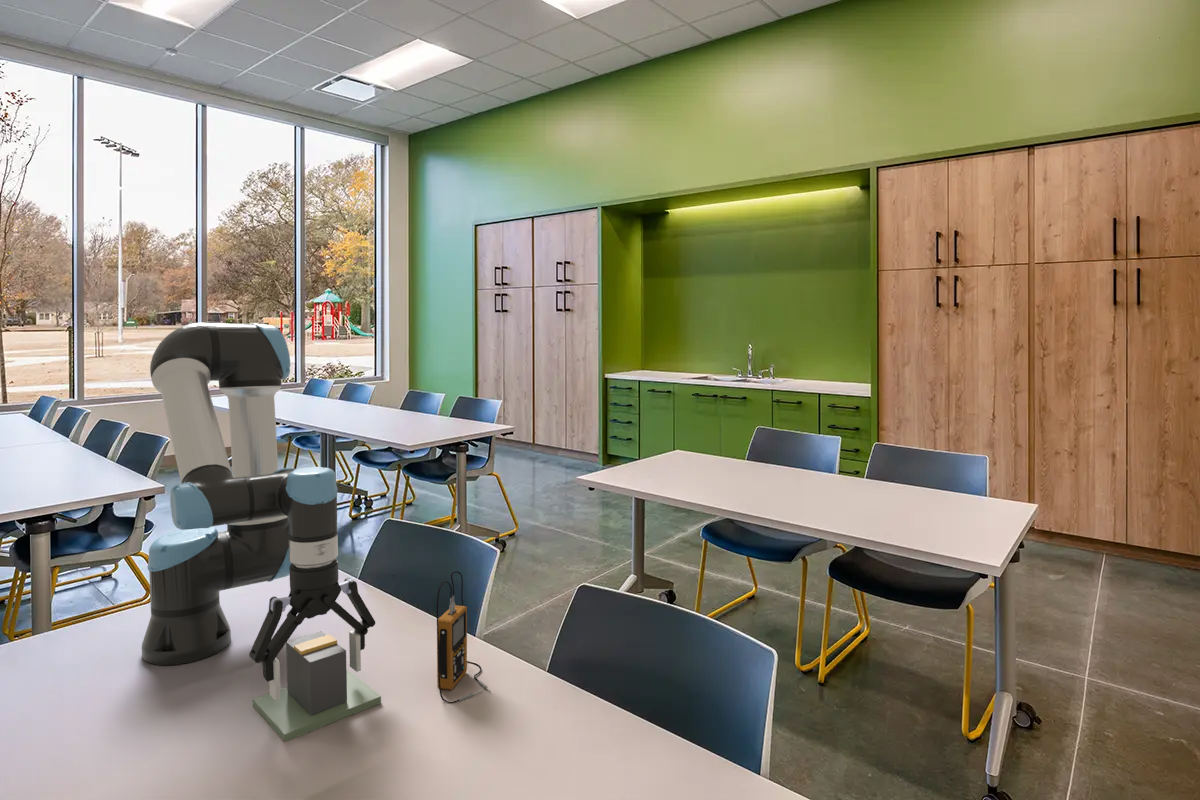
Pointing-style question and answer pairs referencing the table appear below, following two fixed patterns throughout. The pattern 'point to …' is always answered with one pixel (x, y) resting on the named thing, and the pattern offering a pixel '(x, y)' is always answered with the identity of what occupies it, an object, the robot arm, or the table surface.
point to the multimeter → (452, 645)
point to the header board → (297, 721)
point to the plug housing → (316, 672)
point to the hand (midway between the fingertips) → (316, 682)
